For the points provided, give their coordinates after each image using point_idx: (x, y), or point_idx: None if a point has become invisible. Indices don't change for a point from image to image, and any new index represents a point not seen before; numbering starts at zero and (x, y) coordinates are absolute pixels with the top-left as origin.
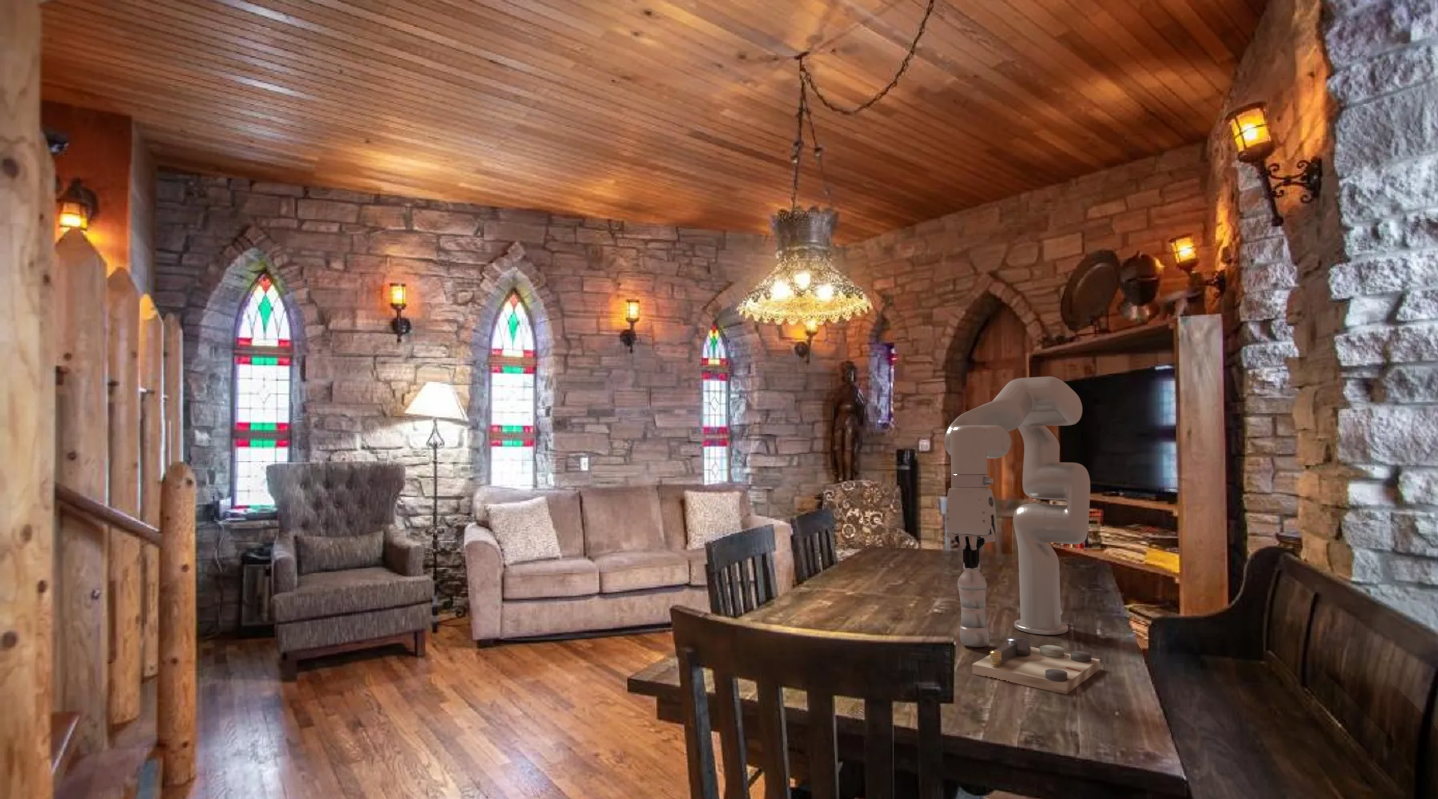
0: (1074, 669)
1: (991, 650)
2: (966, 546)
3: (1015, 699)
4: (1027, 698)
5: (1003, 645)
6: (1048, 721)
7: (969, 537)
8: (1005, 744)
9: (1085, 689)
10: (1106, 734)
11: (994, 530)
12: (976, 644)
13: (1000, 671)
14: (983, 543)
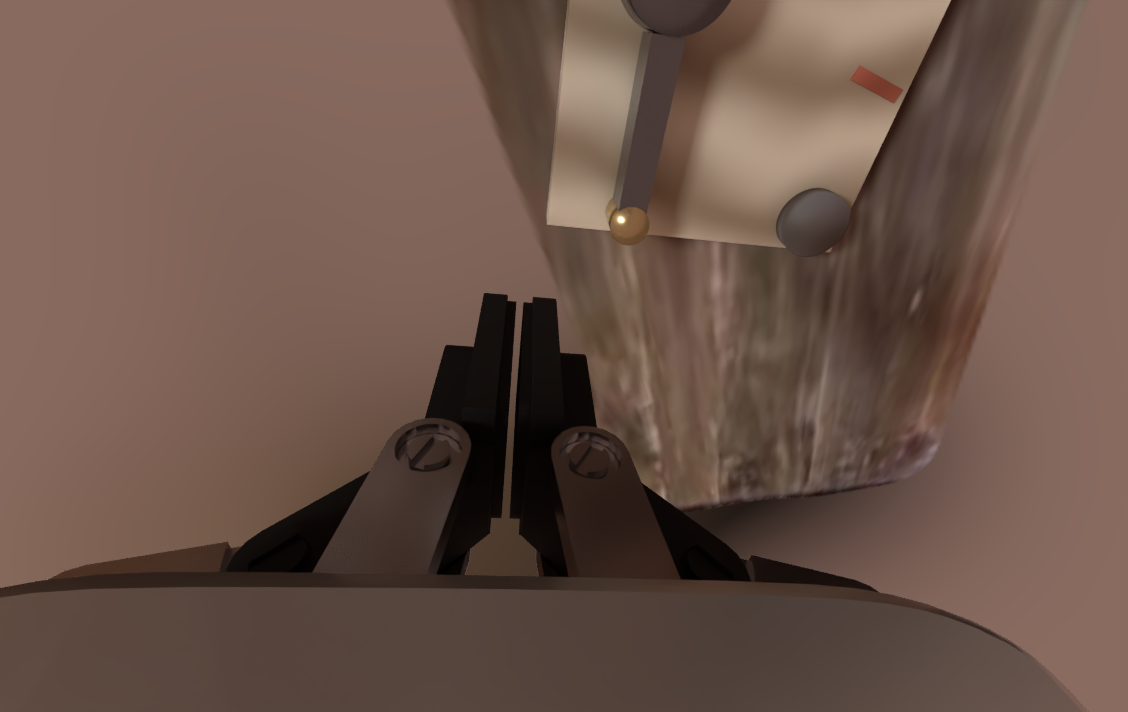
0: (881, 92)
1: (613, 221)
2: (471, 540)
3: (694, 337)
4: (720, 318)
5: (637, 116)
6: (766, 407)
7: (432, 562)
8: (703, 505)
9: (876, 166)
10: (865, 409)
11: (1023, 678)
12: None
13: None
14: (683, 539)
